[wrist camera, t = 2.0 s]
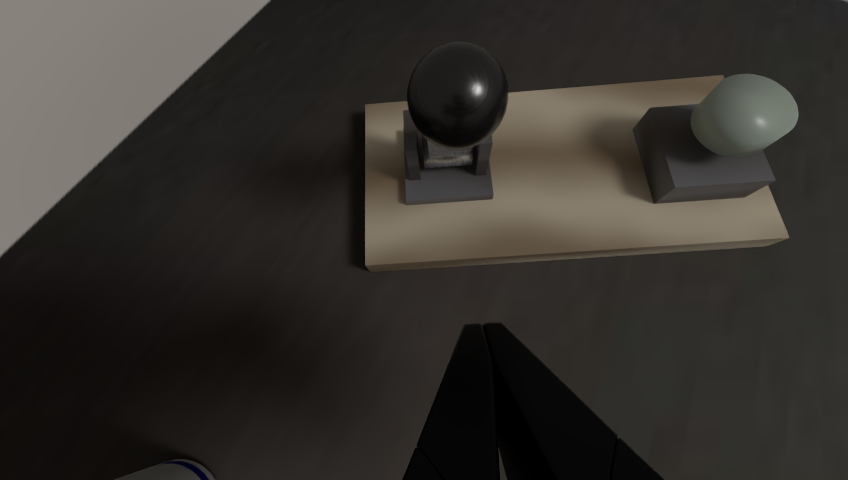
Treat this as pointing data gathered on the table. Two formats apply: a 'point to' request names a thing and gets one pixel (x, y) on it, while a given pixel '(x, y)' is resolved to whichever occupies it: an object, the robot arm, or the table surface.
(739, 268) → the table surface
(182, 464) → the energy drink
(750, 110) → the push button
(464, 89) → the toggle lever
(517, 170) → the switch board
